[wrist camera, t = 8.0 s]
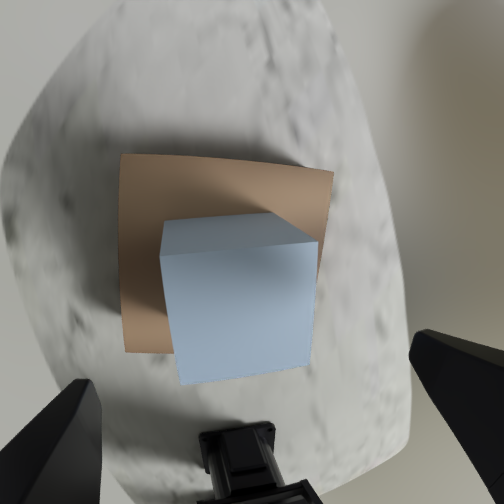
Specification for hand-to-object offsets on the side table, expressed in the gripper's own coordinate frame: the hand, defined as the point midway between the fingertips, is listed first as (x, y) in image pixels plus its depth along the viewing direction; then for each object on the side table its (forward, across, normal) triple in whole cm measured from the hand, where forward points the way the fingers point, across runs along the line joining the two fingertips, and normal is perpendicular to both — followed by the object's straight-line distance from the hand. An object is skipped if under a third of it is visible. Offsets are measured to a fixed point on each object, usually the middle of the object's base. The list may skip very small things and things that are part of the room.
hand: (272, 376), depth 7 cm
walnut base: (+12, 0, 0) cm, 12 cm away
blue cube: (+8, 0, 0) cm, 8 cm away
